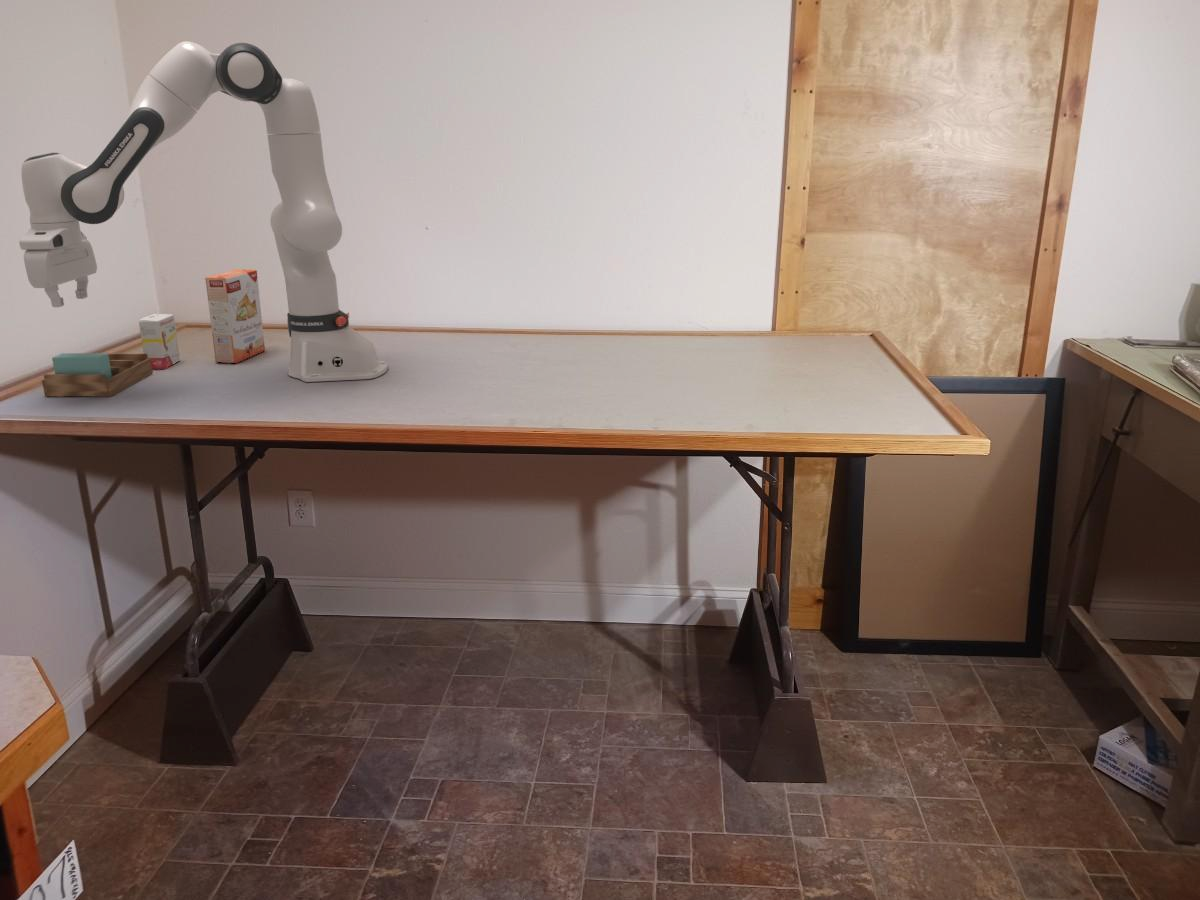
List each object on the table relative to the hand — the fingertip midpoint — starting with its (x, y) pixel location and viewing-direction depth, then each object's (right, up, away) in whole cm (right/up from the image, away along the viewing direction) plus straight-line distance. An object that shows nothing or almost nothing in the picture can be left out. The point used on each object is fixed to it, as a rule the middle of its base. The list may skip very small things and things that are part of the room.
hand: (70, 302), depth 205 cm
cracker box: (+23, -8, +37) cm, 44 cm away
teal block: (0, -17, +6) cm, 18 cm away
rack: (0, -16, +12) cm, 21 cm away
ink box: (+6, -11, +29) cm, 32 cm away
